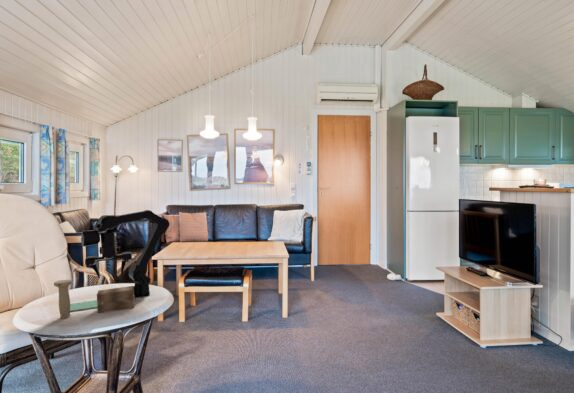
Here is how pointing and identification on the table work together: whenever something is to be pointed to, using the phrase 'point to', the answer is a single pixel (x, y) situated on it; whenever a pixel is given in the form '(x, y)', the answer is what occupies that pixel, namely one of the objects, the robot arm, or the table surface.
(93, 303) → the mat
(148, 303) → the table surface
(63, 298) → the handle
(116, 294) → the cabinet
